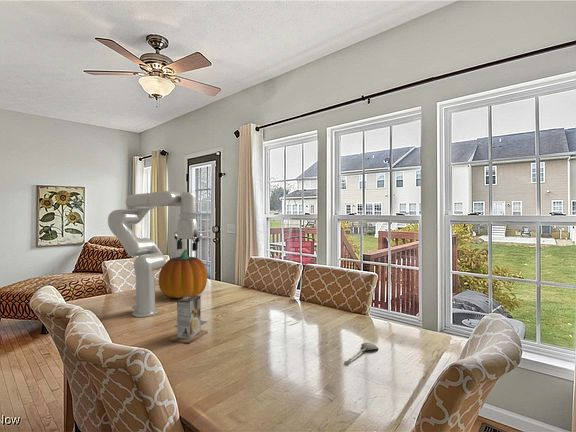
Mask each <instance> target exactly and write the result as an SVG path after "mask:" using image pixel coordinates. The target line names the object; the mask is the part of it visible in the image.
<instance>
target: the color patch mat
mask: <svg viewBox="0 0 576 432" xmlns="http://www.w3.org/2000/svg"><path fill="white" fill-rule="evenodd" d="M207 323H208V321H206V320H201V326H202V325H205V324H207ZM175 327H176V328H177V324H176V325H175Z"/></svg>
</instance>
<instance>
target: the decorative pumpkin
mask: <svg viewBox="0 0 576 432" xmlns="http://www.w3.org/2000/svg"><path fill="white" fill-rule="evenodd" d="M207 283H208V271H207V267H206V265H205V263H204V262H203V261H202V260H201V259H200V258H198V257H195V256H189V255H188V249H186V248H185V249H184V250H183V252H182V253H181V254H180V256H177V257H172V258H169V259H168V260H167V261H165V265H164V266H163V267H162V268H161V269H160V272H159V275H158V287H159V289H160V291H161V293H162V295H165V296H167V297H168V298H176V299H182V298H184V297H186V296H188V295H190V296H199V295H200V294H202V293H203V292H204V290H205V289H206V287H207V285H208V284H207Z"/></svg>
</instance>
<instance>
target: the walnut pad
mask: <svg viewBox="0 0 576 432" xmlns="http://www.w3.org/2000/svg"><path fill="white" fill-rule="evenodd" d="M208 332H209V331H208V330H204V329H201V331H200V332H199V333H197V334H196V335H195V336H193V337H192V338H191V339H186V338H178V337H177V334H175V335H174V336H172V337H170V338H169V341H170V342H171V341H172V342H177V343H183V344H186V345H190V344H191V343H193V342H195V341H196V340H198V339H200V338H201V337H203V336H204V335H207V334H208Z"/></svg>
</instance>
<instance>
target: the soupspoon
mask: <svg viewBox="0 0 576 432" xmlns="http://www.w3.org/2000/svg"><path fill="white" fill-rule="evenodd" d="M360 347H361V348H362V349H361V350H359V351H358V352H356V353H355V354H354V355H353V356H352V357H350V358H349V359H347V360H346V361H343V364H344V365H346V366H349V364H350V362H351V361H352V360H353V359H355V358H356V357H358V356H359V355H360V354H361V353H363V352H365V351H371V350H377V349H379V347H378V346H377V345H376V344H374V343H372V342H363V343H361V344H360Z"/></svg>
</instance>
